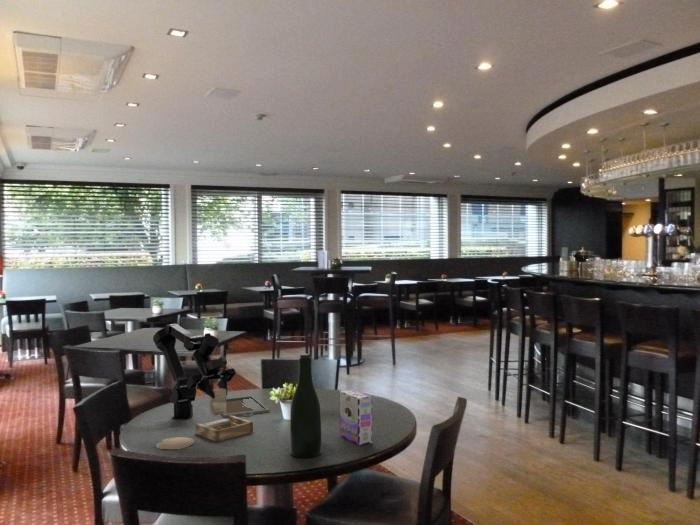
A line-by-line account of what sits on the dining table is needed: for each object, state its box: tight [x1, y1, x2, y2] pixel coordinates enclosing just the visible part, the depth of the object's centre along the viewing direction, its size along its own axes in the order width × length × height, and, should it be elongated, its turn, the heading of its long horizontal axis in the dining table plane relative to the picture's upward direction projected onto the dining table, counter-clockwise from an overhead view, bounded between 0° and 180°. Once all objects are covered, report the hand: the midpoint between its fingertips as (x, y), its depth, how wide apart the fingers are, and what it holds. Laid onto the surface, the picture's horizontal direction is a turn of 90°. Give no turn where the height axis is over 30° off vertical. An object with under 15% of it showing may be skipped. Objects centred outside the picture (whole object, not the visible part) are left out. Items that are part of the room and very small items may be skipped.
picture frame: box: [220, 395, 271, 419], centre depth 248 cm, size 19×2×30 cm
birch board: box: [209, 387, 227, 416], centre depth 216 cm, size 3×5×9 cm, turn 136°
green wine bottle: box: [289, 353, 323, 459], centre depth 190 cm, size 10×10×33 cm
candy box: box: [339, 388, 373, 446], centre depth 205 cm, size 14×6×16 cm, turn 30°
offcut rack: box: [195, 415, 254, 443], centre depth 213 cm, size 14×16×4 cm
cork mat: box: [157, 436, 195, 450], centre depth 201 cm, size 13×13×1 cm
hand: (220, 396), depth 215 cm, fingers closed on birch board, 5 cm apart
